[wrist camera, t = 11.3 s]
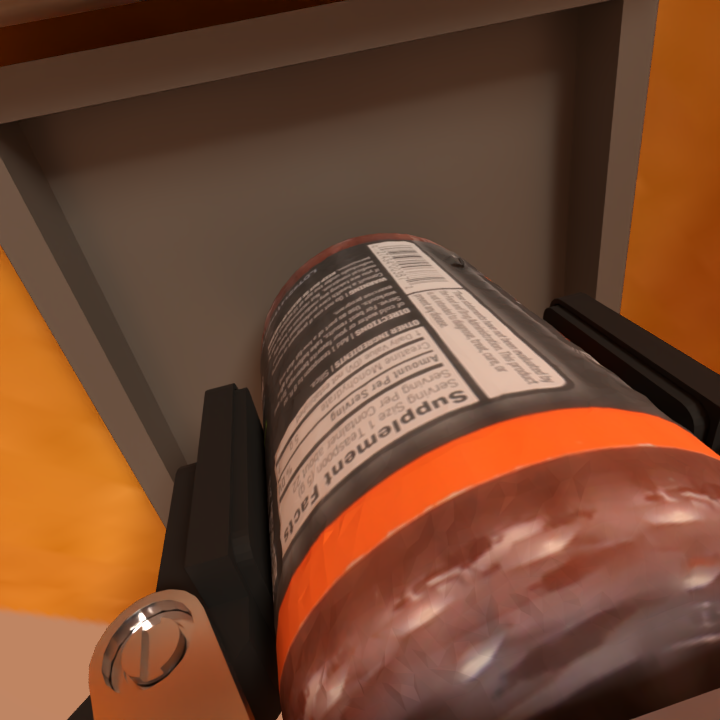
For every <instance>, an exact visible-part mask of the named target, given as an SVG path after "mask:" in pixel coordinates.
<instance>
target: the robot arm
mask: <svg viewBox="0 0 720 720" xmlns="http://www.w3.org/2000/svg"><path fill="white" fill-rule="evenodd" d="M543 320H545V321H546V322H547V323H549V324H550V325H552V326H553V327H554V328H555V329H556V330H557V331H558V332H560V333H561V334H562V335H563V336H564V337H565V338H566V339H568V340H569V341H571V342H572V343H574V344H575V345H577V346H578V347H580V348H582V349H583V350H584V351H585V352H586V353H587V354H589V355H590V356H591V357H593V358H594V359H595V360H596V361H597V362H598V363H599V364H600V365H602V366H604V367H605V368H607V369H608V370H610V371H611V372H613V373H614V374H616V375H617V376H618V377H619V378H620V379H621V380H622V381H624V382H625V383H626V384H627V385H628V386H629V387H630V388H632V389H633V390H635V391H637V392H639V393H641V394H643V395H644V396H646V397H647V398H648V399H649V400H650V401H651V402H652V403H653V404H654V405H655V406H656V407H657V408H658V409H659V410H660V411H661V412H663V413H664V414H665V415H667V416H668V417H669V418H670V419H672V420H673V421H675V422H677V423H678V424H680V425H682V426H683V427H685V428H686V429H687V430H689V431H690V432H692V433H693V434H694V435H695V436H696V437H697V438H698V439H699V440H700V441H701V442H702V443H704V444H705V445H706V446H708V447H709V448H710V449H711V450H713V451H714V452H715V453H716V454H718V455H719V456H720V375H719V374H717V373H715V372H714V371H712V370H710V369H709V368H707V367H705V366H704V365H702V364H701V363H699V362H697V361H696V360H694V359H692V358H691V357H689V356H687V355H686V354H684V353H682V352H681V351H679V350H677V349H676V348H674V347H673V346H671V345H669V344H668V343H666V342H664V341H663V340H661V339H659V338H658V337H656V336H654V335H653V334H651V333H650V332H648V331H646V330H645V329H643V328H641V327H640V326H638V325H636V324H635V323H633V322H631V321H630V320H628V319H626V318H625V317H623V316H622V315H620V314H618V313H617V312H615V311H613V310H612V309H610V308H608V307H607V306H605V305H603V304H602V303H600V302H598V301H597V300H595V299H594V298H592V297H590V296H589V295H587V294H585V293H582V292H580V293H575V294H571V295H567V296H564V297H560V298H556V299H554V300H552V301H551V304H550V307H549V308H546V309H545V311H544V313H543ZM89 689H90V695H89V696H88V698H87V699H86V700H85V701H84V702H83V703H82V704H81V705H80V706H79V708H77V710H76V711H75V712H74V713H73V714H72V715H71V716H70V717H69V718H68V720H276V719H277V718H278V716H279V715H280V713H281V703H280V694H279V682H278V667H277V652H276V633H275V627H274V604H273V587H272V570H271V554H270V535H269V520H268V507H267V487H266V468H265V445H264V430H263V427H262V425H261V422H260V419H259V416H258V413H257V411H256V408H255V405H254V402H253V400H252V397H251V394H250V392H249V390H248V388H247V387H246V388H242V389H238V387H237V386H236V384H235V383H232V384H228V385H224V386H221V387H217V388H213V389H209V390H206V391H205V395H204V404H203V412H202V421H201V429H200V438H199V446H198V455H197V462H196V463H192V464H189V465H185V466H182V467H180V468H179V469H178V470H177V472H176V476H175V481H174V487H173V493H172V499H171V505H170V511H169V517H168V523H167V529H166V534H165V540H164V546H163V552H162V558H161V564H160V570H159V576H158V582H157V588H156V592H155V593H152V594H150V595H148V596H146V597H144V598H142V599H140V600H138V601H136V602H135V603H134V604H132V605H131V606H130V607H128V608H127V609H126V610H124V611H123V612H122V613H121V614H120V615H119V616H118V617H117V618H116V619H115V620H114V621H113V622H112V623H111V625H110V626H109V627H108V628H107V629H106V631H105V632H104V634H103V635H102V637H101V639H100V641H99V642H98V644H97V645H96V647H95V650H94V653H93V656H92V659H91V662H90V665H89ZM631 720H720V688H719V689H716V690H713V691H710V692H707V693H704V694H702V695H699V696H696V697H693V698H690V699H687V700H685V701H682V702H679V703H676V704H673V705H671V706H668V707H665V708H662V709H659V710H657V711H654V712H651V713H648V714H645V715H642V716H640V717H637V718H634V719H631Z"/></svg>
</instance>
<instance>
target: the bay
mask: <svg viewBox="0 0 720 720" xmlns="http://www.w3.org/2000/svg"><path fill="white" fill-rule="evenodd" d="M141 1H147V0H0V28H1V27H6V26H12V25H17V24H22V23H28V22H33V21H39V20H44V19H49V18H55V17H60V16H66V15H71V14H76V13H82V12H87V11H93V10H98V9H103V8H109V7H114V6H120V5H125V4H130V3H136V2H141Z"/></svg>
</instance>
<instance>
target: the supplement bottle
mask: <svg viewBox="0 0 720 720" xmlns="http://www.w3.org/2000/svg"><path fill="white" fill-rule="evenodd" d="M260 374H261V392H262V412H263V430H264V445H265V468H266V487H267V507H268V520H269V535H270V554H271V570H272V587H273V604H274V627H275V633H276V652H277V667H278V682H279V694H280V703H281V711H282V717H283V720H631V719H634V718H637V717H640V716H642V715H645V714H648V713H651V712H654V711H657V710H659V709H662V708H665V707H668V706H671V705H673V704H676V703H679V702H682V701H685V700H687V699H690V698H693V697H696V696H699V695H702V694H704V693H707V692H710V691H713V690H716V689H719V688H720V456H719V455H718V454H716V453H715V452H714V451H713V450H711V449H710V448H709V447H708V446H706V445H705V444H704V443H702V442H701V441H700V440H699V439H698V438H697V437H696V436H695V435H694V434H693V433H692V432H690V431H689V430H687V429H686V428H685V427H683V426H682V425H680V424H678V423H677V422H675V421H673V420H672V419H670V418H669V417H668V416H667V415H665V414H664V413H663V412H661V411H660V410H659V409H658V408H657V407H656V406H655V405H654V404H653V403H652V402H651V401H650V400H649V399H648V398H647V397H646V396H644V395H643V394H641V393H639V392H637V391H635V390H633V389H632V388H630V387H629V386H628V385H627V384H626V383H625V382H624V381H622V380H621V379H620V378H619V377H618V376H617V375H616V374H614V373H613V372H611V371H610V370H608V369H607V368H605V367H604V366H602V365H600V364H599V363H598V362H597V361H596V360H595V359H594V358H593V357H591V356H590V355H589V354H587V353H586V352H585V351H584V350H583V349H582V348H580V347H578V346H577V345H575V344H574V343H572V342H571V341H569V340H568V339H566V338H565V337H564V336H563V335H562V334H561V333H560V332H558V331H557V330H556V329H555V328H554V327H553V326H552V325H550V324H549V323H547V322H546V321H545V320H543V319H542V318H540V317H539V316H537V315H536V314H535V313H533V312H532V311H530V310H529V309H527V308H526V307H525V306H524V305H522V304H521V303H520V302H519V301H517V300H516V299H515V298H514V297H513V296H511V295H510V294H509V293H508V292H506V291H505V290H503V289H502V288H501V287H500V286H499V285H497V284H495V283H494V282H492V281H491V280H490V279H489V278H488V277H487V276H486V275H484V274H483V273H481V272H480V271H478V270H477V269H476V268H475V267H474V266H472V265H471V264H470V263H469V262H467V261H466V260H464V259H463V258H462V257H460V256H459V255H457V254H456V253H454V252H452V251H449V250H447V249H446V248H444V247H442V246H440V245H438V244H436V243H434V242H432V241H430V240H428V239H426V238H421V237H417V236H413V235H409V234H399V233H377V234H369V235H364V236H359V237H354V238H350V239H347V240H344V241H342V242H340V243H337V244H335V245H332V246H330V247H329V248H327V249H325V250H324V251H322V252H320V253H319V254H317V255H316V256H314V257H313V258H311V259H310V260H308V261H307V262H306V263H305V264H304V265H303V266H301V267H300V268H299V269H298V270H297V271H296V272H295V273H294V274H293V275H292V276H291V277H290V279H289V280H288V281H287V282H286V284H285V285H284V286H283V287H282V289H281V290H280V292H279V294H278V295H277V296H276V298H275V300H274V302H273V304H272V306H271V308H270V310H269V313H268V315H267V317H266V321H265V325H264V331H263V335H262V346H261V358H260Z"/></svg>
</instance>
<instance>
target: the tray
mask: <svg viewBox="0 0 720 720" xmlns="http://www.w3.org/2000/svg"><path fill="white" fill-rule="evenodd" d="M658 4H659V0H346V1H340V2H335V3H330V4H325V5H320V6H314V7H309V8H304V9H299V10H294V11H288V12H283V13H278V14H273V15H268V16H262V17H257V18H252V19H247V20H242V21H236V22H231V23H226V24H221V25H216V26H210V27H205V28H200V29H195V30H190V31H184V32H179V33H174V34H169V35H164V36H158V37H153V38H148V39H143V40H138V41H132V42H127V43H122V44H117V45H112V46H107V47H101V48H96V49H91V50H86V51H81V52H75V53H70V54H65V55H60V56H55V57H49V58H44V59H39V60H34V61H29V62H23V63H18V64H13V65H8V66H3V67H0V245H1V246H2V248H3V250H4V252H5V253H6V255H7V257H8V258H9V260H10V262H11V264H12V265H13V267H14V269H15V270H16V272H17V274H18V276H19V277H20V279H21V281H22V282H23V284H24V286H25V288H26V289H27V291H28V293H29V294H30V296H31V298H32V300H33V301H34V303H35V305H36V306H37V308H38V310H39V311H40V313H41V315H42V317H43V318H44V320H45V322H46V323H47V325H48V327H49V329H50V330H51V332H52V334H53V335H54V337H55V339H56V341H57V342H58V344H59V346H60V347H61V349H62V351H63V353H64V354H65V356H66V358H67V359H68V361H69V363H70V365H71V366H72V368H73V370H74V371H75V373H76V375H77V377H78V378H79V380H80V382H81V383H82V385H83V387H84V389H85V390H86V392H87V394H88V395H89V397H90V399H91V401H92V402H93V404H94V406H95V407H96V409H97V411H98V413H99V414H100V416H101V418H102V419H103V421H104V423H105V425H106V426H107V428H108V430H109V431H110V433H111V435H112V437H113V438H114V440H115V442H116V443H117V445H118V447H119V449H120V450H121V452H122V454H123V455H124V457H125V459H126V461H127V462H128V464H129V466H130V467H131V469H132V471H133V473H134V474H135V476H136V478H137V479H138V481H139V483H140V485H141V486H142V488H143V490H144V491H145V493H146V495H147V497H148V498H149V500H150V502H151V503H152V505H153V507H154V508H155V510H156V512H157V514H158V515H159V517H160V519H161V520H162V522H163V524H164V526H165V527H166V529H167V523H168V517H169V511H170V505H171V499H172V493H173V487H174V481H175V476H176V472H177V470H178V469H179V468H180V467H182V466H185V465H189V464H192V463H196V462H197V455H198V446H199V438H200V429H201V421H202V412H203V404H204V395H205V391H206V390H209V389H213V388H217V387H221V386H224V385H228V384H232V383H235V384H236V386H237V387H238V389H242V388H246V387H247V388H248V390H249V392H250V394H251V397H252V400H253V402H254V405H255V408H256V411H257V413H258V416H259V419H260V422H261V425H262V427H263V412H262V392H261V374H260V358H261V346H262V335H263V331H264V325H265V321H266V317H267V315H268V313H269V310H270V308H271V306H272V304H273V302H274V300H275V298H276V296H277V295H278V294H279V292H280V290H281V289H282V287H283V286H284V285H285V284H286V282H287V281H288V280H289V279H290V277H291V276H292V275H293V274H294V273H295V272H296V271H297V270H298V269H299V268H300V267H301V266H303V265H304V264H305V263H306V262H307V261H308V260H310V259H311V258H313V257H314V256H316V255H317V254H319V253H320V252H322V251H324V250H325V249H327V248H329V247H330V246H332V245H335V244H337V243H340V242H342V241H344V240H347V239H350V238H354V237H359V236H364V235H369V234H377V233H399V234H409V235H413V236H417V237H421V238H426V239H428V240H430V241H432V242H434V243H436V244H438V245H440V246H442V247H444V248H446V249H447V250H449V251H452V252H454V253H456V254H457V255H459V256H460V257H462V258H463V259H464V260H466V261H467V262H469V263H470V264H471V265H472V266H474V267H475V268H476V269H477V270H478V271H480V272H481V273H483V274H484V275H486V276H487V277H488V278H489V279H490V280H491V281H492V282H494V283H495V284H497V285H499V286H500V287H501V288H502V289H503V290H505V291H506V292H508V293H509V294H510V295H511V296H513V297H514V298H515V299H516V300H517V301H519V302H520V303H521V304H522V305H524V306H525V307H526V308H527V309H529V310H530V311H532V312H533V313H535V314H536V315H537V316H539V317H540V318H542V319H543V313H544V311H545V309H546V308H549V307H550V304H551V301H552V300H554V299H556V298H560V297H564V296H567V295H571V294H575V293H580V292H582V293H585V294H587V295H589V296H590V297H592V298H594V299H595V300H597V301H598V302H600V303H602V304H603V305H605V306H607V307H608V308H610V309H612V310H613V311H615V312H617V313H618V314H620V308H621V300H622V292H623V284H624V276H625V268H626V260H627V252H628V244H629V236H630V228H631V220H632V212H633V204H634V196H635V188H636V180H637V172H638V164H639V156H640V148H641V140H642V132H643V124H644V116H645V108H646V100H647V92H648V84H649V76H650V68H651V60H652V52H653V44H654V36H655V28H656V20H657V12H658Z"/></svg>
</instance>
